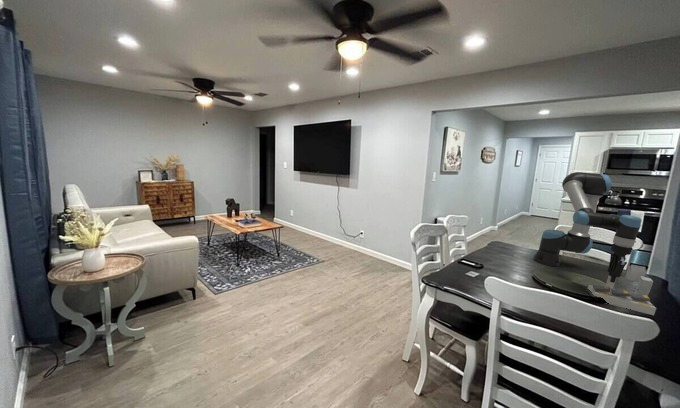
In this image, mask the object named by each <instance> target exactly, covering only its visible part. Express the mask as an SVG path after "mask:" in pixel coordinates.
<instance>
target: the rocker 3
mask: <svg viewBox="0 0 680 408" xmlns="http://www.w3.org/2000/svg"><path fill="white" fill-rule="evenodd" d="M629 294H630V297H631V298H632V299H633V300H640V301H648V302H650V303H651V298H650V297H649V295H648V296H646V295H637V294H634V293H629Z"/></svg>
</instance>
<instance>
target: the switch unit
mask: <svg viewBox="0 0 680 408" xmlns="http://www.w3.org/2000/svg"><path fill="white" fill-rule="evenodd" d="M587 289H589V290H590V291H591V292H592V294H593V295H594V296H597V297H601V298H603V299H604V300H605V301H606V302H607V303H609V304H608V305H612V306H616V307H619V308H623V309H626V308H627V310H630V309H631V311H635V312H637V313H638V312H639V313H643V314H646V315H651V316H655V313H656V310H657V307H655V305H654V304H653V303H651V301H650V302H648V301H640V300H633V299H632V298H631V297H627V296H618V295H614V294H613V293H612V292H611V291H610V292H604V291H596V290H595V289H594V288H593V285H591V284H588V286H587ZM607 303H606V304H607Z"/></svg>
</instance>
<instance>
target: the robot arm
mask: <svg viewBox="0 0 680 408" xmlns="http://www.w3.org/2000/svg"><path fill="white" fill-rule="evenodd" d="M561 186H562V189H563V191H564V192H565V193H566V194H567V196H568V197H569V199H570V203H571V205H572V207H573V209H574V213H573V215H572V221H573V223H572V226H571V229H568V230H567V233H565V231H563V230H558V229H545V230H544V231H543V232H542V234H541V239H540V243H539V248H538V250H537V251H536V252H535V254H534V256H533V260H534V261H535V262H537V263H539V264H542V265H544V266H549V267H550V266H551V267H559V266H560V265H561V258H560V252H561V251H565V252H571V253H575V254H582V255H583V254H584V255H585V254H587V253H589V252H590V251H591V249H592V248H593V242H594V241H593V238H592V237H591V235H590V234H589V231H590V229H591V227H594V228H595V227H596V228H602V229H610V230H614V231H615V232H614V233H615V234H614V236H613V240H612V244H611V246H610V251H611V252H613V253H610V258H609V265H608V268H607V272H608V277H607V280H606V282H605V286H606V287H609V288H610V289H615V288H614V287H615V286H616V285H615V284H616V281H617V278H620V277H621V275H622V273H623V270H624V269H625V267H626V265H628V264H627V263H628V262H627V261H626V256H629V255H632V251H633V250H634V248H633V247H634V245H635V243H637V241H636V239H637V236H638V233H639V231H640V228H641V226H642V224H641V223H642V220H643V219H642V218H641V217H639V216H634V215H631V214H622V215H619V214H615V213H613V214H612V213H610V214H608V213H607V214H605V213H599V212H596V209H597V206H598V203H599V199H600V198H602V197H604V194H608V193H609V192H610V190H611V189H612V179H611V177H610V176H609V175H607V174H603V173H598V172H597V173H596V172H595V173H592V172H584V171H581V172H580V171H576V172H573V173H570V174H568V175H566V176H565V177H564V179H563V181H562V184H561Z"/></svg>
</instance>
